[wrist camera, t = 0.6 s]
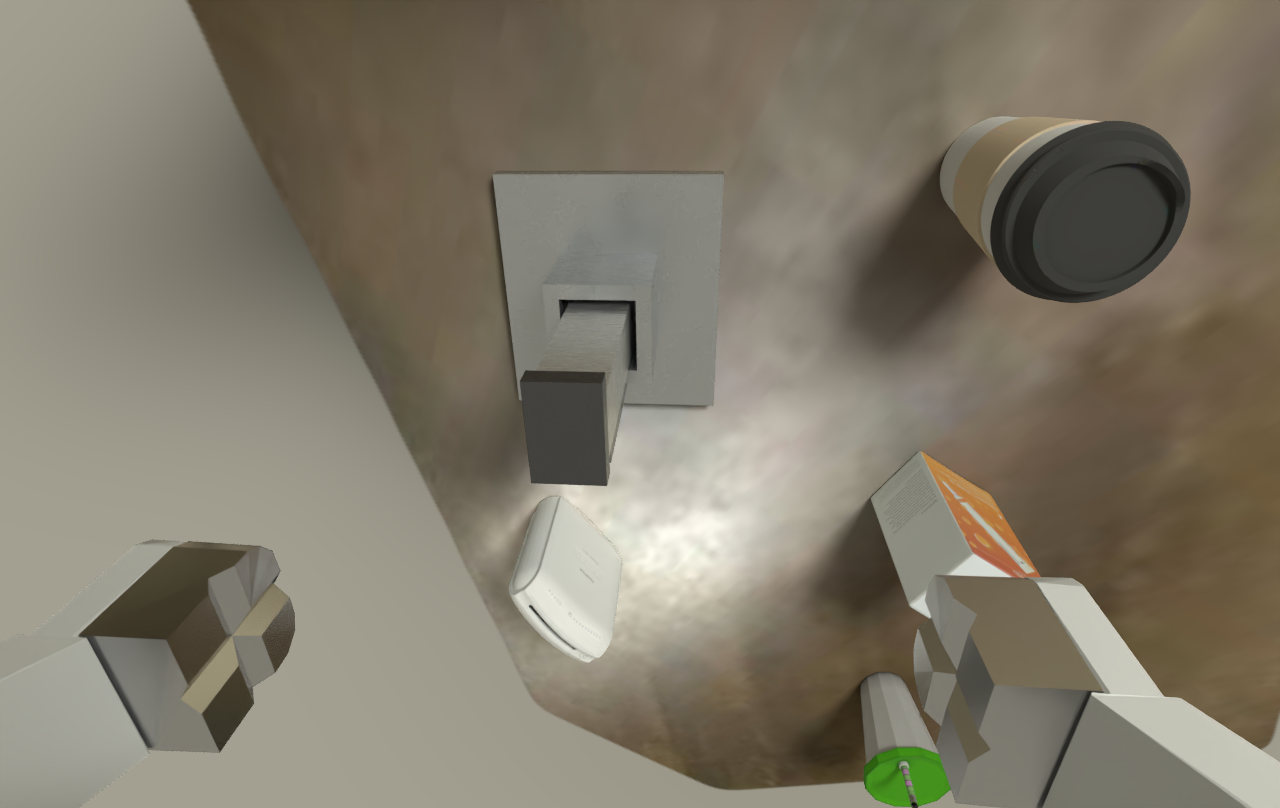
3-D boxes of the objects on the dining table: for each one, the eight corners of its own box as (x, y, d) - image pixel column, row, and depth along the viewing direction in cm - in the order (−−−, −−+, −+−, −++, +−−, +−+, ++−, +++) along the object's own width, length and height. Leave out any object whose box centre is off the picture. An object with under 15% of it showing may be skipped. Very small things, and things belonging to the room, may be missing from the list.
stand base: (497, 171, 48) (416, 227, 34) (723, 171, 46) (731, 229, 33) (522, 393, 56) (466, 507, 43) (713, 398, 55) (716, 517, 42)
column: (582, 260, 49) (519, 381, 32) (636, 261, 49) (602, 383, 32) (586, 336, 52) (531, 483, 35) (638, 337, 51) (607, 485, 35)
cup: (904, 716, 72) (948, 868, 59) (833, 702, 72) (862, 851, 59) (933, 669, 69) (987, 820, 56) (859, 654, 68) (896, 802, 55)
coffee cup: (972, 263, 48) (1073, 351, 35) (894, 173, 46) (971, 231, 33) (1092, 168, 44) (1254, 227, 31) (1014, 64, 42) (1155, 81, 29)
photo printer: (630, 558, 65) (616, 664, 54) (596, 576, 66) (575, 683, 55) (562, 486, 61) (532, 584, 50) (527, 507, 63) (491, 606, 52)
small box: (991, 492, 58) (1061, 606, 46) (937, 538, 60) (991, 656, 49) (919, 447, 56) (974, 553, 45) (867, 497, 59) (906, 608, 48)
